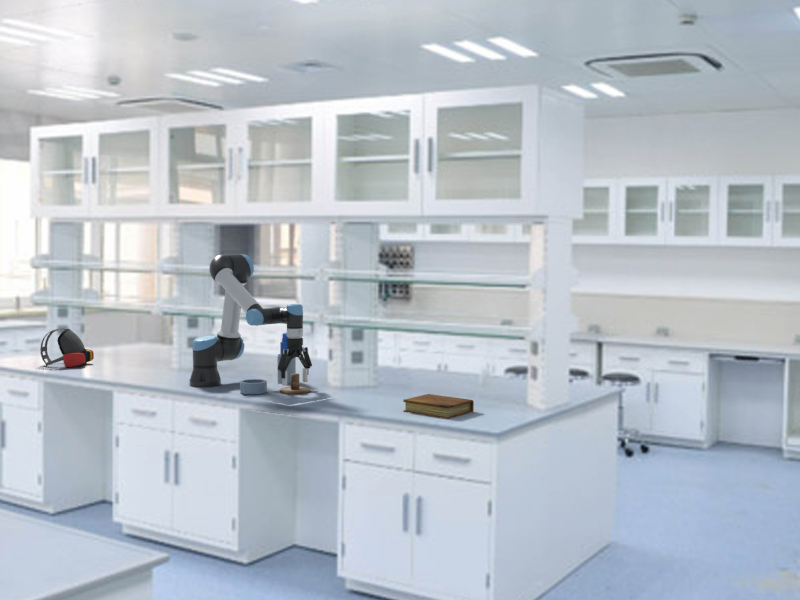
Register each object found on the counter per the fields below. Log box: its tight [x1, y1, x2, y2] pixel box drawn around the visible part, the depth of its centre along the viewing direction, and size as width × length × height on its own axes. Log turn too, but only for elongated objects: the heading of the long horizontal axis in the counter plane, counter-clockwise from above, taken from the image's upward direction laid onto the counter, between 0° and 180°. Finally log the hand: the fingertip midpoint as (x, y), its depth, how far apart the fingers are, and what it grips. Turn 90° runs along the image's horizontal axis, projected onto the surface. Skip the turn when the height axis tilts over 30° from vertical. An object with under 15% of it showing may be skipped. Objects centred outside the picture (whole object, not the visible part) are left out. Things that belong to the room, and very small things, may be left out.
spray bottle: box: [277, 332, 297, 385], centre depth 451 cm, size 9×9×25 cm
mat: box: [271, 389, 320, 397], centre depth 425 cm, size 16×16×1 cm
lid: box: [279, 373, 311, 395], centre depth 425 cm, size 14×14×8 cm
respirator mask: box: [39, 328, 95, 368], centre depth 508 cm, size 22×24×25 cm
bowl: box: [239, 378, 268, 397], centre depth 422 cm, size 12×12×6 cm
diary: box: [402, 393, 475, 420], centre depth 383 cm, size 23×19×6 cm
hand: (295, 383), depth 425 cm, fingers open, 12 cm apart
